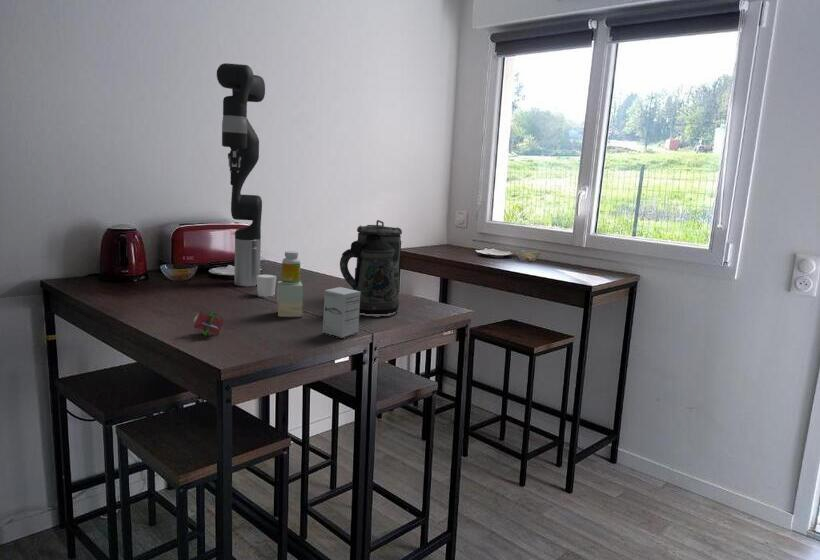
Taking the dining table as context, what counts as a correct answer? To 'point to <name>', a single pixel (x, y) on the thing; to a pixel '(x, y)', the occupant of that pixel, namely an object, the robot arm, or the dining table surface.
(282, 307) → the tower base block
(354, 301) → the supplement box
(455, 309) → the dining table surface
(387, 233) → the canister
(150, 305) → the dining table surface
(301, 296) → the tower top block
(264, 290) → the shot glass
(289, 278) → the supplement bottle
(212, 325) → the geometric puzzle
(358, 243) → the beer stein
